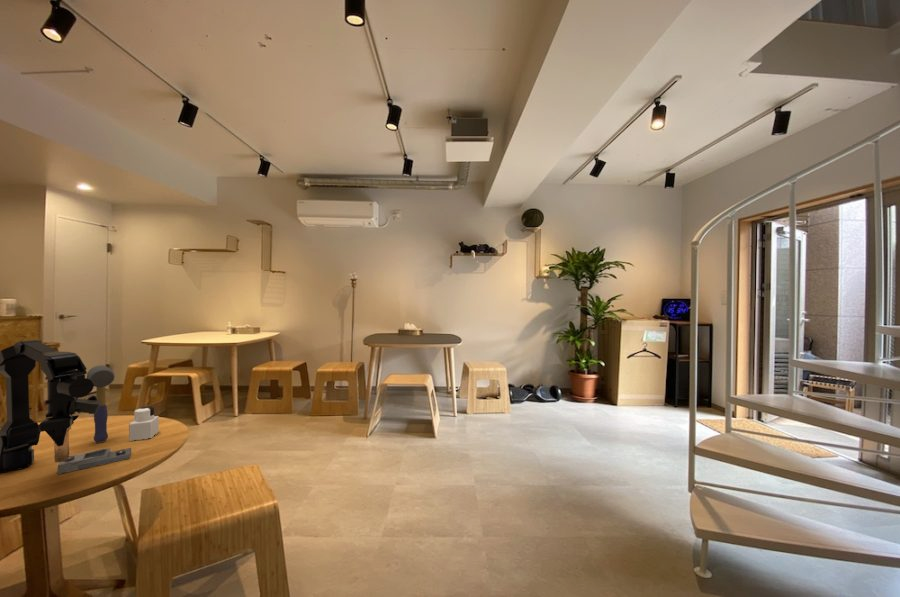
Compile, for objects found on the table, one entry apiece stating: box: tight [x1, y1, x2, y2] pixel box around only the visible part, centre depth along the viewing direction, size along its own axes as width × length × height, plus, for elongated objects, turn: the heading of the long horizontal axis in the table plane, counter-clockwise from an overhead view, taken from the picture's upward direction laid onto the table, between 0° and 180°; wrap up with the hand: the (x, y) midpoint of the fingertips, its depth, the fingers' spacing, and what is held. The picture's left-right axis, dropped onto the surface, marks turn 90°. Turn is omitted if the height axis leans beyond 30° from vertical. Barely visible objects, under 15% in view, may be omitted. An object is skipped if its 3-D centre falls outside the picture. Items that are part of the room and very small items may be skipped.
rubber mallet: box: [86, 365, 116, 444], centre depth 134 cm, size 12×8×30 cm, turn 50°
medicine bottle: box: [128, 405, 160, 442], centre depth 139 cm, size 7×7×12 cm
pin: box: [53, 425, 72, 463], centre depth 106 cm, size 4×4×10 cm
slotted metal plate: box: [57, 447, 132, 475], centre depth 118 cm, size 17×7×4 cm, turn 130°
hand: (61, 443), depth 106 cm, fingers closed on pin, 3 cm apart
